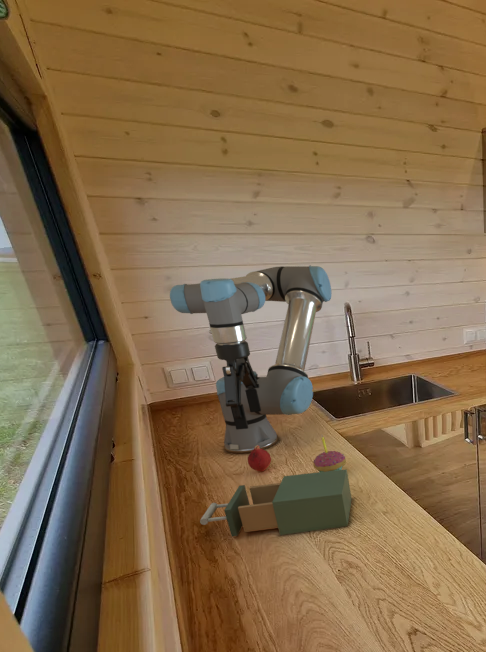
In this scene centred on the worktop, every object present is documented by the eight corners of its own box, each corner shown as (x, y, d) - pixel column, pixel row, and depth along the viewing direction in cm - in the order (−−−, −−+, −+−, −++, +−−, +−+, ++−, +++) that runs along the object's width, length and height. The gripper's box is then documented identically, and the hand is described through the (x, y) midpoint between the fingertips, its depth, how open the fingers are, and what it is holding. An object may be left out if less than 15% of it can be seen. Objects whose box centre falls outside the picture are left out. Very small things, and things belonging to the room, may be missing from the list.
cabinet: (279, 535, 110) (272, 502, 106) (290, 506, 121) (283, 476, 118) (347, 526, 112) (341, 493, 109) (351, 499, 124) (346, 469, 120)
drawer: (200, 540, 107) (191, 514, 104) (217, 513, 117) (210, 488, 114) (296, 528, 110) (290, 502, 108) (304, 503, 121) (299, 478, 118)
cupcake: (310, 476, 136) (302, 437, 131) (338, 466, 141) (332, 428, 137) (325, 486, 130) (318, 445, 126) (354, 475, 136) (347, 435, 131)
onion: (264, 477, 136) (258, 451, 133) (246, 475, 137) (239, 449, 134) (277, 467, 141) (271, 442, 138) (260, 466, 142) (254, 441, 139)
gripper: (229, 333, 135) (247, 406, 143) (196, 354, 113) (219, 438, 121) (258, 332, 137) (274, 403, 145) (232, 351, 114) (252, 435, 122)
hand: (249, 419), depth 133 cm, fingers open, 13 cm apart
